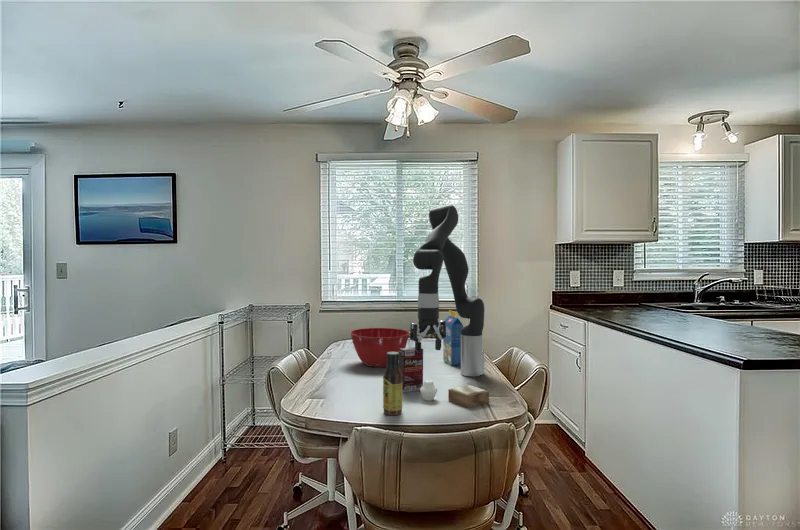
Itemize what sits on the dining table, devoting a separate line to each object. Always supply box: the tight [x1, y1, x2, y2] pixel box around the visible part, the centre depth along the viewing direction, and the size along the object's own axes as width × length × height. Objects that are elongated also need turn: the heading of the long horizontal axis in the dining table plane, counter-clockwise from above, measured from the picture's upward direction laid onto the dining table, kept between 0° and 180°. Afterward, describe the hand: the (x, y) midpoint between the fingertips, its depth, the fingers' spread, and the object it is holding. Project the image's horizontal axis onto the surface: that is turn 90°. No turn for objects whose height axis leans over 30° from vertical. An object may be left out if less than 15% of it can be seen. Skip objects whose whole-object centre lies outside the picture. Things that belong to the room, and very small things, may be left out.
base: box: [448, 384, 490, 408], centre depth 174 cm, size 10×10×4 cm
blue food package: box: [442, 309, 464, 367], centre depth 237 cm, size 6×12×25 cm, turn 13°
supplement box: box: [399, 346, 424, 393], centre depth 189 cm, size 9×5×16 cm, turn 117°
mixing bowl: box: [349, 327, 410, 368], centre depth 235 cm, size 28×28×16 cm
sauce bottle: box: [382, 352, 403, 416], centre depth 161 cm, size 7×6×20 cm
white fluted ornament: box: [419, 379, 438, 402], centre depth 176 cm, size 6×6×7 cm
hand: (428, 351), depth 176 cm, fingers open, 8 cm apart
